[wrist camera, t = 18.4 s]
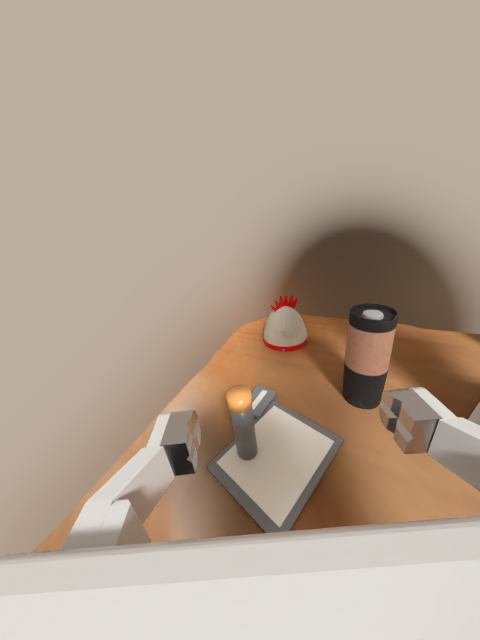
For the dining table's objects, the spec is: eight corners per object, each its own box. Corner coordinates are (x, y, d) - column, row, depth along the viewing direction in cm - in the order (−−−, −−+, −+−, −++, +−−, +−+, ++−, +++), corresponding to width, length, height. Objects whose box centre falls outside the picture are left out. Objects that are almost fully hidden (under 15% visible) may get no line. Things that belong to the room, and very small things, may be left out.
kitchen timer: (314, 346, 68) (316, 299, 61) (270, 355, 66) (267, 308, 60) (297, 326, 80) (296, 286, 74) (259, 333, 79) (255, 293, 73)
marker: (246, 436, 42) (238, 381, 36) (262, 449, 39) (256, 392, 34) (232, 451, 40) (221, 395, 34) (247, 465, 37) (238, 407, 32)
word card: (258, 388, 54) (257, 384, 54) (277, 395, 51) (276, 391, 51) (239, 411, 48) (238, 407, 48) (259, 420, 46) (258, 416, 45)
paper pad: (274, 401, 50) (274, 399, 49) (343, 441, 40) (343, 438, 39) (206, 467, 38) (206, 465, 38) (279, 548, 28) (279, 545, 28)
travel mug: (346, 380, 53) (354, 301, 45) (384, 391, 49) (401, 306, 40) (337, 401, 48) (344, 315, 39) (378, 416, 43) (396, 323, 35)
